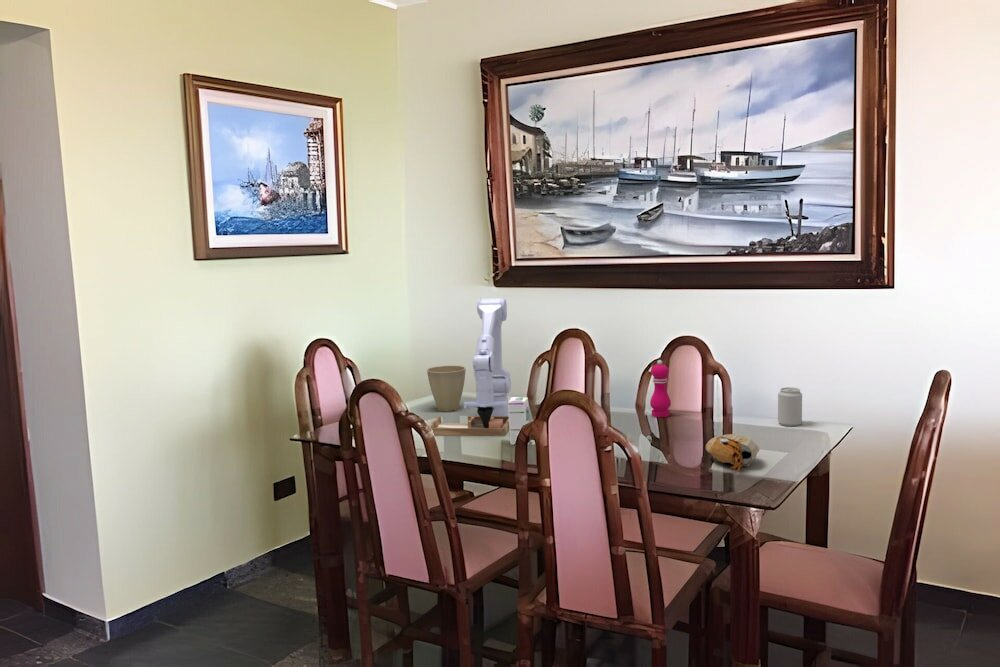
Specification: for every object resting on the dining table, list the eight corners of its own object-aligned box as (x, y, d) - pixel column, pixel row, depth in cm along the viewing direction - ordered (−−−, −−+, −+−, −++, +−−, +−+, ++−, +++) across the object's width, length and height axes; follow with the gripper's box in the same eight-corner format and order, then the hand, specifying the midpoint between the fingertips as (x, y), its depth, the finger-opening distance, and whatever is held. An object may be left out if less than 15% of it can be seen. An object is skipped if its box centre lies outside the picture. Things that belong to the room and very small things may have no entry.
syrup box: (527, 445, 257) (525, 400, 255) (509, 444, 258) (507, 400, 256) (530, 440, 262) (528, 396, 260) (512, 440, 263) (510, 396, 261)
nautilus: (758, 480, 215) (700, 479, 221) (761, 453, 235) (709, 452, 240) (756, 452, 214) (698, 452, 219) (760, 427, 233) (707, 427, 239)
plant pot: (466, 413, 302) (463, 371, 300) (426, 414, 303) (424, 373, 301) (469, 404, 317) (467, 364, 315) (431, 405, 318) (429, 365, 316)
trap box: (438, 424, 288) (438, 416, 288) (513, 424, 283) (512, 416, 283) (426, 437, 271) (425, 428, 271) (504, 437, 266) (504, 428, 266)
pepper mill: (671, 417, 282) (670, 361, 279) (650, 418, 283) (649, 362, 281) (670, 412, 289) (669, 358, 286) (650, 413, 290) (649, 358, 288)
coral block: (491, 430, 274) (491, 419, 273) (503, 430, 273) (502, 419, 273) (489, 433, 270) (488, 422, 269) (501, 433, 269) (500, 422, 269)
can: (778, 426, 265) (778, 391, 263) (777, 420, 272) (777, 386, 270) (802, 427, 263) (802, 391, 261) (801, 421, 270) (801, 386, 268)
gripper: (460, 392, 268) (463, 431, 270) (503, 392, 265) (505, 432, 267) (465, 387, 275) (467, 426, 277) (507, 387, 272) (509, 426, 274)
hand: (486, 428), depth 272 cm, fingers closed
